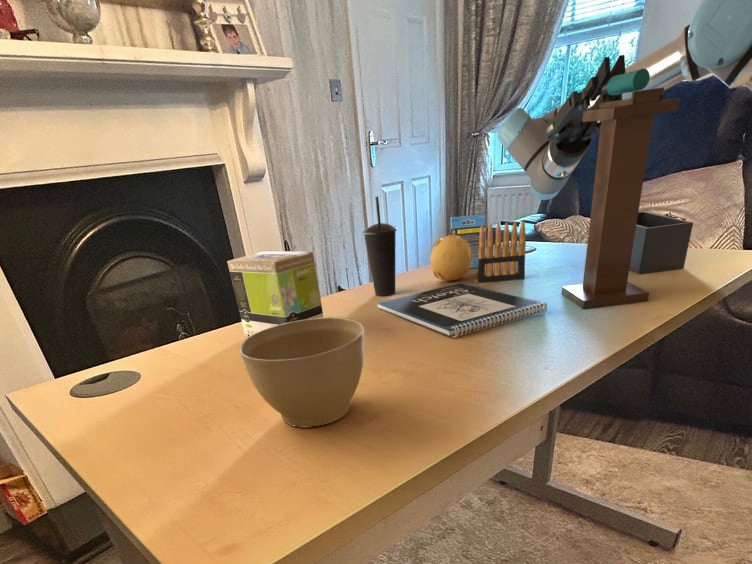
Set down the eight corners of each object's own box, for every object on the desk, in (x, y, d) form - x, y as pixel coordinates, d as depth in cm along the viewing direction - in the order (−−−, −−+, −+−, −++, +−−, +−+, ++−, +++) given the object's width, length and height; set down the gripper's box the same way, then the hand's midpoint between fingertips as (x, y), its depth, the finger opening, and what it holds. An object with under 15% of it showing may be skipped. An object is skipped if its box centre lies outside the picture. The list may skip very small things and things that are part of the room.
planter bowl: (274, 394, 81) (257, 323, 75) (377, 387, 79) (369, 312, 73) (244, 444, 69) (221, 363, 62) (366, 437, 66) (355, 352, 60)
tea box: (327, 330, 106) (314, 250, 98) (290, 346, 101) (273, 262, 92) (280, 322, 115) (264, 248, 107) (243, 336, 110) (224, 259, 101)
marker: (588, 100, 97) (589, 82, 95) (602, 97, 97) (604, 79, 95) (631, 91, 82) (634, 69, 80) (648, 88, 82) (651, 67, 80)
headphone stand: (560, 293, 108) (578, 100, 90) (619, 286, 108) (648, 90, 90) (583, 310, 98) (609, 95, 80) (649, 301, 97) (689, 83, 79)
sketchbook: (460, 288, 122) (460, 279, 121) (549, 313, 99) (550, 302, 98) (377, 308, 116) (376, 298, 114) (452, 340, 93) (452, 328, 91)
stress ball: (425, 280, 132) (423, 235, 126) (462, 273, 133) (462, 229, 128) (439, 287, 124) (438, 240, 118) (478, 280, 125) (478, 233, 120)
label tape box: (485, 264, 139) (486, 211, 132) (485, 268, 135) (486, 213, 128) (452, 267, 141) (450, 215, 133) (451, 270, 137) (449, 217, 130)
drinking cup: (397, 287, 129) (390, 193, 118) (404, 294, 123) (397, 195, 111) (367, 292, 129) (356, 198, 117) (372, 299, 122) (362, 200, 111)
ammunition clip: (524, 277, 123) (527, 219, 116) (524, 279, 122) (527, 220, 115) (477, 280, 125) (477, 224, 119) (477, 282, 124) (477, 225, 117)
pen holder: (599, 256, 131) (604, 216, 126) (638, 251, 131) (644, 211, 126) (638, 274, 114) (646, 228, 109) (683, 268, 113) (693, 222, 108)
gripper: (603, 162, 112) (661, 81, 88) (533, 171, 112) (572, 94, 89) (600, 124, 111) (658, 34, 88) (530, 134, 112) (568, 47, 88)
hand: (615, 64), depth 88 cm, fingers closed on marker, 2 cm apart
